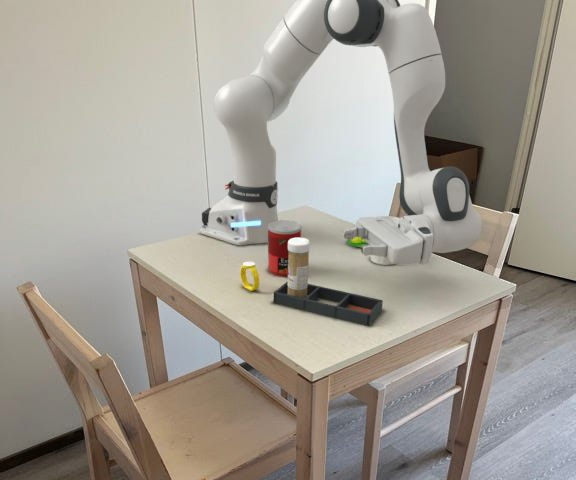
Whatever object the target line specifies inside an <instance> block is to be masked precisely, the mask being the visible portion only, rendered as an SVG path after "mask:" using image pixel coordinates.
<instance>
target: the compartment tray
mask: <svg viewBox="0 0 576 480" xmlns="http://www.w3.org/2000/svg"><path fill="white" fill-rule="evenodd" d="M319 299H322V300H328V301H331V302H335V303H337V304H336V305H334V304H329V303H326V302H321V301H318V300H319ZM383 303H384V300H383V299H378V298H375V297H371V296H370V297H369V296H366V295H361V294H357V293H351V292H347V291H342V290H337V289H334V288H329V287H325V286H320V285H316V284H311V283H308V286H307V297H306V298H300V297H296V296H292V295H288V280H287V281H286V282H285V283H284V284H283V285H281V286H280V287H278V288H277V289H276V290H275V291H274V292H273V304H277V305H281V306H285V307H288V308H291V309H298V310H301V311H305V312H308V313H314V314H317V315H322V316H325V317H329V318H333V319H339V320H342V321H346V322H351V323H355V324H358V325H362V326H368V327H370V325H371V324H372V323H373V322H374V320H375V319H377V317H378V316H379V314H381V312H382V311H383Z"/></svg>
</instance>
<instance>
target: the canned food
mask: <svg viewBox="0 0 576 480" xmlns="http://www.w3.org/2000/svg"><path fill="white" fill-rule="evenodd" d="M297 237H300V238H302V225H301V224H300V223H299V222H297V221H294V220H286V219H285V220H284V219H283V220H282V219H281V220H278V221H274V222H271V223H270V224H269V225H268V242H267V264H268V265H267V267H268V271H269V272H270V274H272V275H275V276H278V277H288V259H289V252H288V241H289V240H290V239H292V238H297Z"/></svg>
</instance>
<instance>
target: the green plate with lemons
mask: <svg viewBox="0 0 576 480" xmlns="http://www.w3.org/2000/svg"><path fill="white" fill-rule="evenodd" d="M346 242H347V244H349V245H350V246H352V247H355V248H358V249H359V248H360V249H361V246H362V245H366V244H368V243H367V242H366V241H364V240H363V239H362V238H361V237H354V238H353V239H352V240H346Z"/></svg>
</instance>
